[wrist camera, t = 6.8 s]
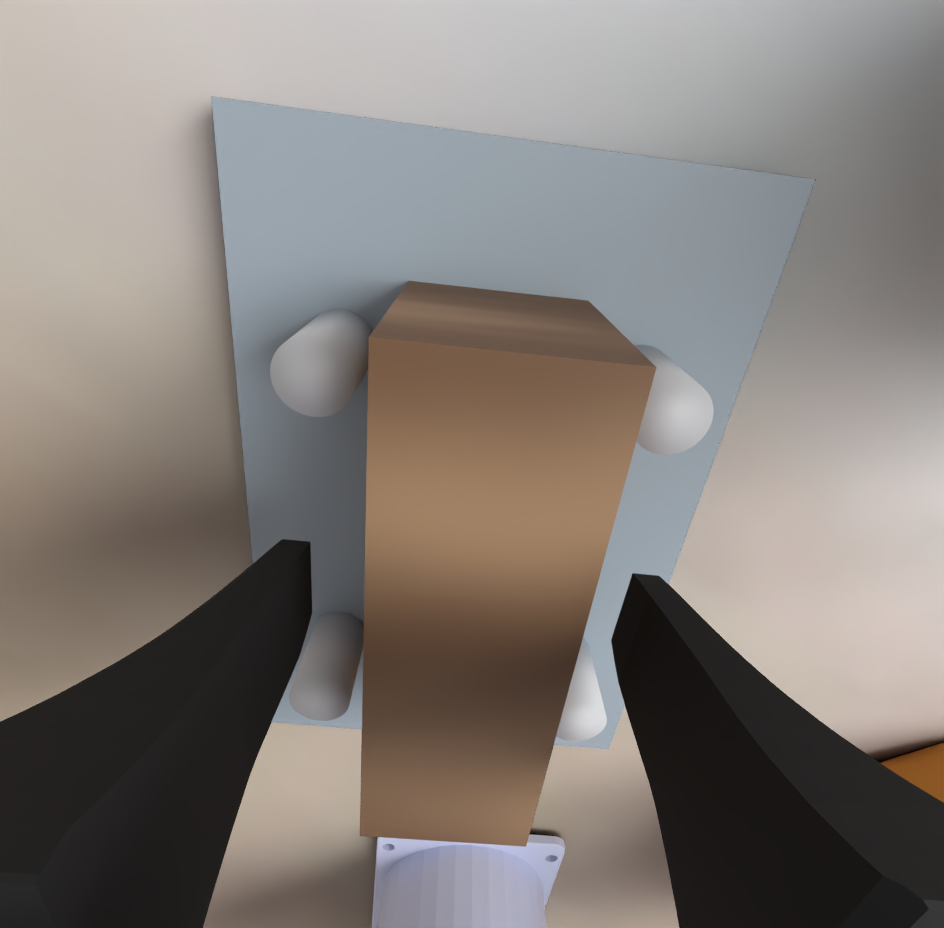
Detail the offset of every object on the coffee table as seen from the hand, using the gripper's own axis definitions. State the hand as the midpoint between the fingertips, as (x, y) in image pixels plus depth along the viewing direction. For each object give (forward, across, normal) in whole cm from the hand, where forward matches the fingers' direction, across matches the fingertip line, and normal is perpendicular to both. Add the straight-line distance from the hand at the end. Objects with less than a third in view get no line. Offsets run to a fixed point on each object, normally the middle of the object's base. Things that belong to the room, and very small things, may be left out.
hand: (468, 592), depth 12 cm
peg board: (+4, 0, 0) cm, 4 cm away
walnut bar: (+3, 0, 0) cm, 3 cm away
